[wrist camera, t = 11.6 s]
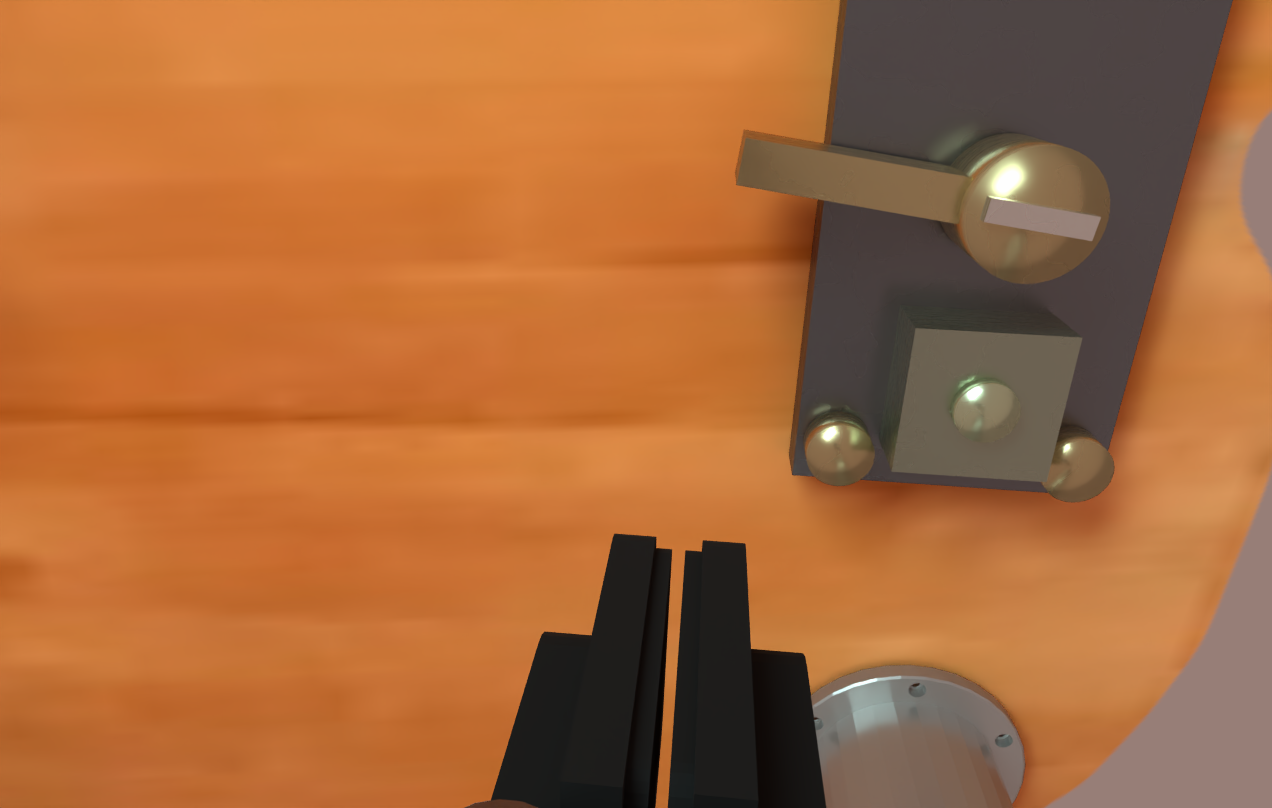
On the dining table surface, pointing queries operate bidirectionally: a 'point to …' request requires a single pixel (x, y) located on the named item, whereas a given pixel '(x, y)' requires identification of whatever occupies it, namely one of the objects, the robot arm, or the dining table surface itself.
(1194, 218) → the dining table surface
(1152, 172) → the plate
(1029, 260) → the lever handle
